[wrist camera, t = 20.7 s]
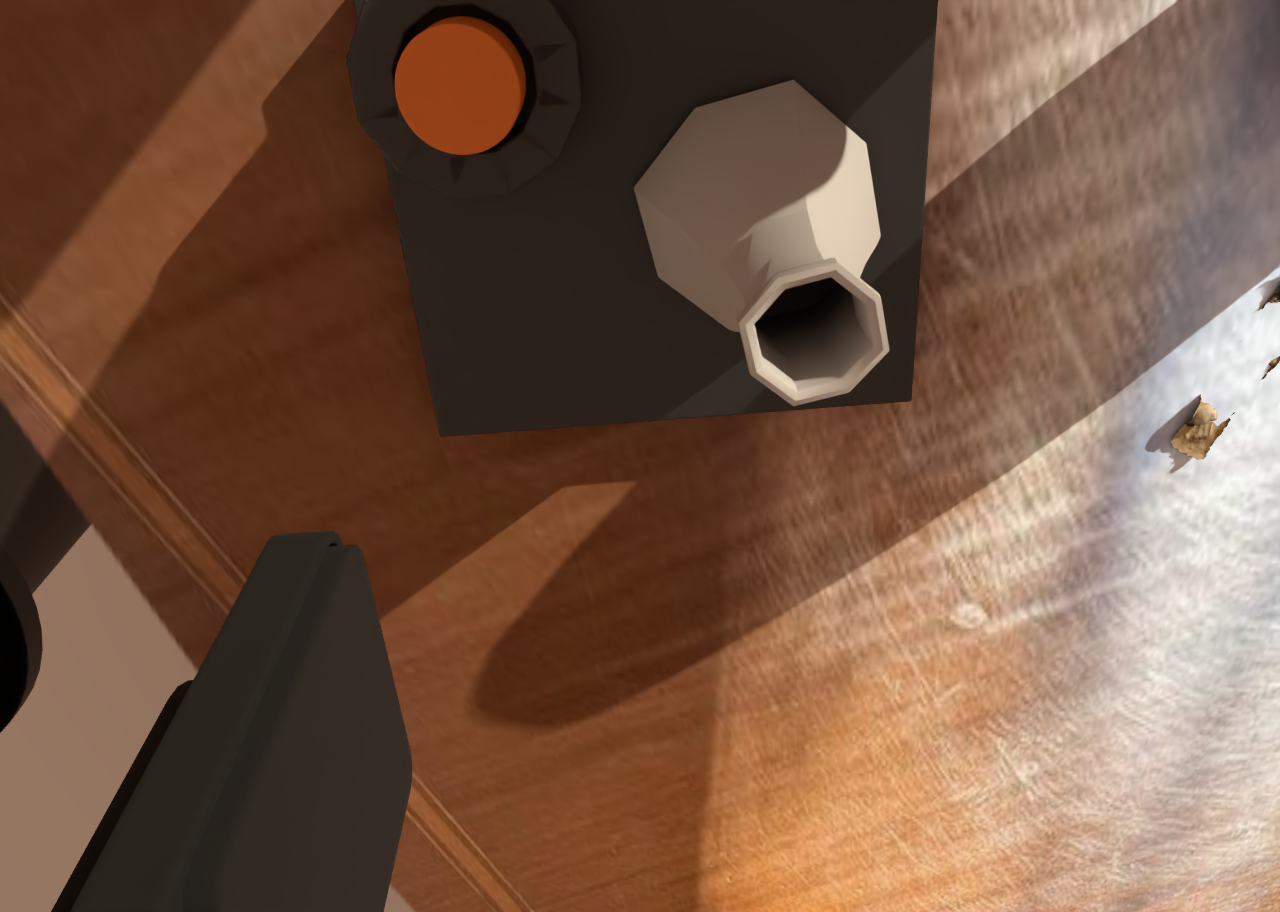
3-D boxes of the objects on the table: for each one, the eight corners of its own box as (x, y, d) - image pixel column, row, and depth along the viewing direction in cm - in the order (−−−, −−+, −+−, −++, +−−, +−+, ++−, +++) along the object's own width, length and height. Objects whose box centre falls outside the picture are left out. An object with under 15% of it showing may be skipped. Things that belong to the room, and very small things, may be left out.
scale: (443, 421, 35) (429, 464, 32) (353, -42, 28) (325, -35, 25) (902, 386, 34) (926, 426, 32) (932, -92, 27) (965, -90, 25)
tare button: (419, 145, 27) (407, 160, 26) (396, 21, 26) (382, 28, 24) (533, 136, 27) (528, 150, 26) (517, 10, 26) (511, 17, 24)
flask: (917, 241, 31) (1037, 378, 22) (718, 362, 32) (754, 532, 24) (804, 30, 28) (889, 91, 19) (591, 176, 29) (579, 295, 21)
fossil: (1302, 240, 32) (1317, 248, 32) (1348, 260, 33) (1365, 268, 32) (1157, 440, 36) (1168, 451, 35) (1200, 456, 36) (1212, 467, 36)
